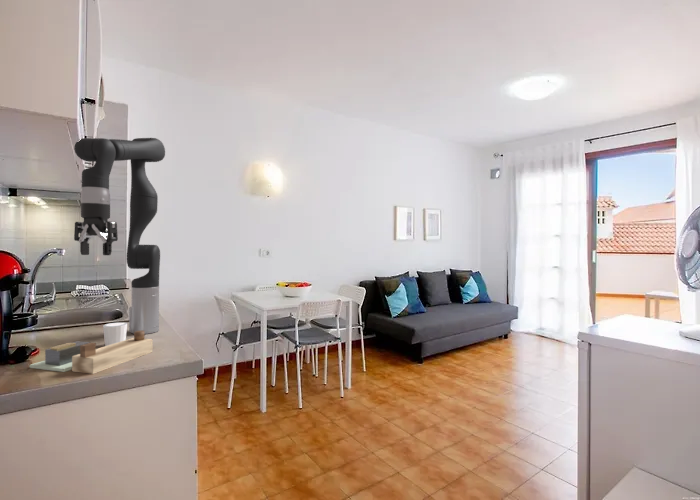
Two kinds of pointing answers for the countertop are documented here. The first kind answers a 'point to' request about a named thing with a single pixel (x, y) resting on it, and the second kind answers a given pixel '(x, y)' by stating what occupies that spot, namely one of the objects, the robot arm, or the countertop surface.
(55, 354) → the dark gray block
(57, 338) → the countertop surface
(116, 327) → the white cup
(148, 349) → the body
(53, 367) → the mat
